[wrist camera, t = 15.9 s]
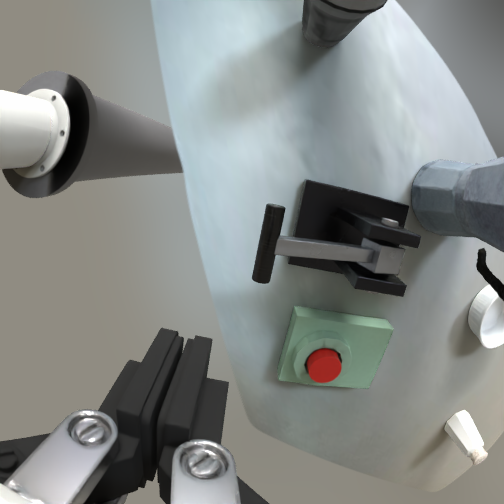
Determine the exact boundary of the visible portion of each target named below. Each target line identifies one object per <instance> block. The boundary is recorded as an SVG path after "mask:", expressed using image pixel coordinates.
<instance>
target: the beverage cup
mask: <svg viewBox="0 0 504 504" xmlns="http://www.w3.org/2000/svg"><path fill="white" fill-rule="evenodd" d="M386 2H387V0H304V5H303V17H302V25H303V27H302V30H303V34H304V36H305V38H306V39H307V40H308V41H309V42H310V43H312V44H314V45H315V46H319V47H325V48H328V47H332V46H335V45H336V44H338V43H339V42H340V41H341V40H343V39H344V38H345V37H346V36H347V35H348V34H349V33H350V32H351V31H352V30H353V29H354V28H355V27H356V26H357V25H358V24H359V23H360V22H361V21H362V20H363V19H364V18H365V17H366V16H367V15H369V14H371V13H372V12H375V11H376V10H378V9H380V8H382V7H383V6H384V5H385V3H386Z"/></svg>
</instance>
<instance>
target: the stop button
mask: <svg viewBox="0 0 504 504" xmlns="http://www.w3.org/2000/svg"><path fill="white" fill-rule="evenodd" d="M307 367H308V372H309V376H310V378H311V379H312V380H314V381H315V382H318V383H327V382H330V381H332V380H334V379H335V378H337V377H338V375H339V374H340V372H341V369H342V366H341V362H340V360H339V357H338V355H337V353H336V352H335V351H333V350H331V349H326V348H324V349H319V350H317V351H315V352H313V353H312V354H311V355H310V356H309V358H308V360H307Z"/></svg>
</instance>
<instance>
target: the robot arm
mask: <svg viewBox="0 0 504 504" xmlns="http://www.w3.org/2000/svg"><path fill="white" fill-rule="evenodd" d="M70 133H71V114H70V110H69V107H68V104H67V102H66V100H65V99H64V98H63V97H62V95H60V94H59V93H58V92H55V91H53V90H49V89H39V90H36V91H33V92H31V93H30V94H28V95H27V96H26V95H22V94H17V93H12V92H7V91H2V90H0V169H9V168H13V170H14V171H15V172H16V173H17V174H19V175H21V176H22V177H26V178H37V177H41V176H43V175H46V174H47V173H49V172H50V171H51V170H52V169H53V168H54V167H55V166H56V165H57V164H58V163H59V161H60V160H61V158H62V156H63V154H64V152H65V150H66V148H67V145H68V142H69V138H70ZM183 342H184V338H183V337H180V336H178V332H177V331H173V330H169V329H164V328H161V329H160V331H159V332H158V335H157V336H156V338H155V339H154V341H153V343H152V345H151V346H150V348H149V350H148V352H147V354H146V355H145V357H144V359H143V361H142V362H141V363H140V362H137V361H133V360H129V361H128V362H127V364H126V366H125V367H124V369H123V370H122V372H121V374H120V375H119V377H118V378H117V380H116V382H115V383H114V385H113V386H112V388H111V390H110V392H109V393H108V395H107V396H106V398H105V400H104V401H103V403H102V405H101V406H100V408H99V410H98V411H97V410H91V409H84V410H78V411H75V412H73V413H71V414H70V415H68V416H67V417H66V418H65V419H64V420H63V421H62V422H61V423H60V424H59V425H58V426H57V427H56V428H55V429H54V431H53V432H52V433H49V434H43V435H38V436H33V437H27V438H21V439H14V440H8V441H1V442H0V504H124V503H125V501H126V499H127V496H128V493H131V492H134V491H136V490H138V487H141V488H144V487H145V484H146V481H147V480H149V481H153V480H154V477H155V474H156V470H157V474H158V483H159V487H160V497H161V498H162V500H163V501H164V502H165V503H166V504H269V503H268V502H267V501H265V500H264V499H263V498H262V497H261V496H260V495H258V494H257V493H256V492H255V491H254V490H253V489H251V488H250V487H249V486H248V485H247V484H245V483H244V482H243V481H242V480H241V479H240V478H239V477H238V476H237V473H236V466H235V461H234V458H233V455H232V454H231V453H230V452H229V450H228V449H226V448H225V447H223V446H222V445H221V438H222V431H223V423H224V415H225V407H226V400H227V392H228V384H229V382H226V381H220V380H215V379H210V378H207V371H208V365H209V358H210V352H211V346H212V339H211V338H206V337H201V336H195V338H194V339H188V340H187V343H186V345H185V348H184V350H183ZM182 351H183V353H182Z"/></svg>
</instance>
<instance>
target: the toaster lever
mask: <svg viewBox="0 0 504 504" xmlns="http://www.w3.org/2000/svg"><path fill="white" fill-rule="evenodd" d="M284 213H285V207H283V206H280V205H276V204H267V205H266V209H265V214H264V220H263V225H262V230H261V235H260V240H259V245H258V250H257V255H256V260H255V265H254V270H253V275H252V280H254V281H255V282H258V283H263V284H266V283H269V282H270V279H271V274H272V269H273V265H274V260H275V256H276V255H283V256H295V257H306V258H317V259H328V260H340V261H351V262H357V263H358V264H359V265H361V266H363V267H365V268H366V269H368V270H370V271H372V272H373V273H379V274H396V275H398V273H399V270H400V266H401V263H402V260H403V256H404V253H405V249H404V248H402V247H400V246H398V245H395V244H393V243H391V242H388V241H384V240H379V239H372V238H366V237H363V240H362V244H361V245H353V244H345V243H338V242H330V241H322V240H314V239H306V238H297V237H289V236H281V235H280V232H281V227H282V223H283V218H284Z"/></svg>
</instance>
